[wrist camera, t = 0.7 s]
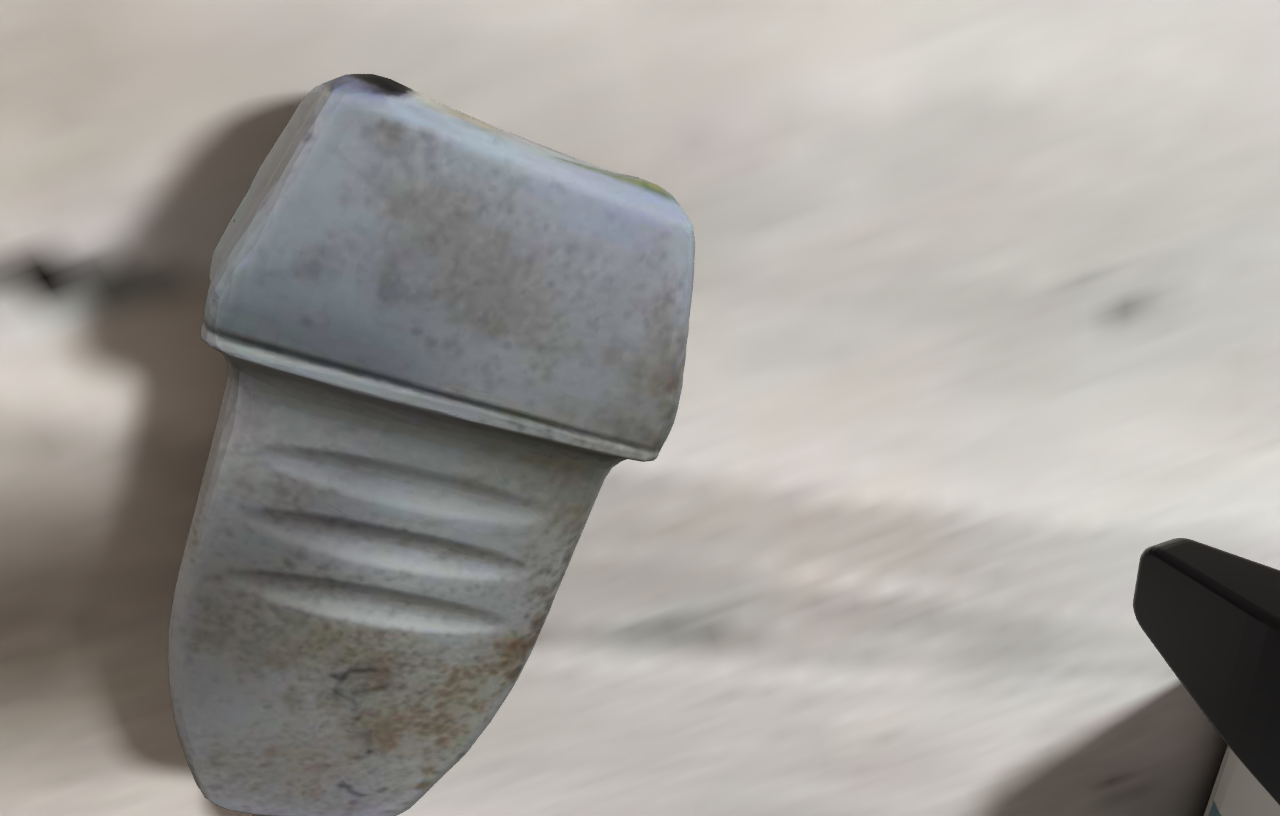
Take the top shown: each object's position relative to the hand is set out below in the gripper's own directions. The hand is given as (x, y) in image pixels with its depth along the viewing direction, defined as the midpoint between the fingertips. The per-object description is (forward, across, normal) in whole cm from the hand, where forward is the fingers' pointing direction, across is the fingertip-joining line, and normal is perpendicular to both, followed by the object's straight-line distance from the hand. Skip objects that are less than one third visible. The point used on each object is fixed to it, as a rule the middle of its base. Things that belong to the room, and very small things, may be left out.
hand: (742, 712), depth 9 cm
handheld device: (+14, +5, +5) cm, 16 cm away
